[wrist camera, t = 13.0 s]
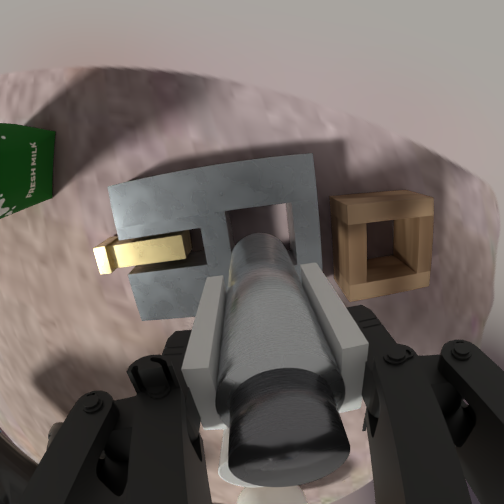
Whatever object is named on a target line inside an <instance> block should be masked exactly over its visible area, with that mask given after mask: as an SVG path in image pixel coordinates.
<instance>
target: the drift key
mask: <svg viewBox="0 0 504 504" xmlns="http://www.w3.org/2000/svg"><path fill="white" fill-rule="evenodd" d="M93 249H94V253H95V257H96V260H97V264H98V267H99V271H100V274H107V273H112V272H113V271H114V270H115V269H116V268H120V267H127V266H135V265H142V264H150V263H157V262H165V261H172V260H180V259H186V258H187V256H188V254H189V253H190V251H191V249H192V243H191V238H190V232H189V230H182V231H176V232H169V233H163V234H156V235H150V236H144V237H138V238H132V239H126V240H120V241H119V239H118V236H114V237H110V238H108V239H107V240H105V241H104V242H102V243H101V244H99V245H98V246H96V247H95V248H93Z"/></svg>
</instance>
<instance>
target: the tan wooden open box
mask: <svg viewBox="0 0 504 504" xmlns="http://www.w3.org/2000/svg"><path fill="white" fill-rule="evenodd" d="M329 199H330V212H331V226H332V244H333V267H334V279H335V281H336V282H337V284H338V285H339V287H340V288H341V290H342V291H343V293H344V294H345V296H346V297H347V299H348V301H349V302H352V301H358V300H363V299H369V298H374V297H379V296H384V295H389V294H394V293H399V292H404V291H409V290H414V289H418V288H423V287H427V286H429V280H430V271H431V259H432V244H433V216H434V198H433V197H430V196H426V195H423V194H419V193H416V192H412V191H408V190H395V191H382V192H370V193H358V194H348V195H337V196H329ZM387 220H393V221H394V239H393V255H391V256H384V257H378V258H371V259H367V232H366V223H370V222H379V221H387Z"/></svg>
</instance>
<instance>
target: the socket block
mask: <svg viewBox="0 0 504 504" xmlns="http://www.w3.org/2000/svg"><path fill="white" fill-rule="evenodd" d="M108 191H109V197H110V202H111V207H112V212H113V217H114V221H115V226H116V230H117V234H118V239H119V241H120V240H126V239H132V238H138V237H144V236H150V235H156V234H163V233H169V232H176V231H182V230H189V229H196V228H201V233H202V238H203V244H204V249H205V250H204V251H197V252H190V253H189V254H188V256H187V258H186V259H180V260H172V261H165V262H157V263H150V264H142V265H136V266H135V268H134V269H133V270H132V271H131V272H130V273H129V274H128V277H129V281H130V284H131V287H132V291H133V294H134V297H135V301H136V304H137V307H138V310H139V313H140V316H141V319H142V321H145V320H159V319H172V318H184V317H195V316H196V313H197V310H198V306H199V303H200V299H201V296H202V293H203V289H204V286H205V282H206V279H207V277H213V276H221V275H223V277H224V283H225V288H226V294H227V287H228V278H229V270H230V262H231V255H232V251H233V249H234V247H235V245H234V239H233V233H232V226H231V220H230V213H229V210H235V209H243V208H250V207H258V206H265V205H273V204H282V203H286V210H287V220H288V229H289V239H290V249H291V250H287V253H288V255H289V257H290V259H291V261H292V264H293V266H294V268H295V270H296V272H297V275H298V277H299V279H300V281H301V268H300V265H302V264H309V263H317V264H318V266H319V267H320V269H321V270H322V253H321V238H320V224H319V211H318V200H317V189H316V179H315V169H314V160H313V153H307V154H295V155H285V156H276V157H267V158H259V159H251V160H243V161H236V162H229V163H223V164H216V165H210V166H204V167H198V168H192V169H187V170H181V171H176V172H171V173H166V174H161V175H156V176H151V177H146V178H142V179H137V180H133V181H128V182H124V183H120V184H116V185H112V186H109V187H108ZM301 283H302V281H301Z"/></svg>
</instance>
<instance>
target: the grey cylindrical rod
mask: <svg viewBox="0 0 504 504" xmlns="http://www.w3.org/2000/svg"><path fill="white" fill-rule="evenodd" d="M344 399H345V384H344V381H343V378H342V376H341V373H340V371H339V369H338V366H337V364H336V361H335V359H334V357H333V354H332V352H331V350H330V347H329V345H328V343H327V340H326V338H325V336H324V333H323V331H322V329H321V326H320V324H319V322H318V319H317V317H316V315H315V313H314V310H313V308H312V306H311V304H310V301H309V299H308V297H307V295H306V292H305V290H304V288H303V286H302V283H301V281H300V279H299V277H298V275H297V272H296V270H295V268H294V266H293V264H292V261H291V259H290V257H289V255H288V253H287V250H286V248H285V246H284V245H283V243H282V242H281V241H280V240H279V239H277V238H276V237H274V236H272V235H270V234H266V233H254V234H250V235H248V236H246V237H244V238H242V239H241V240H240V241H239V242H238V243H237V244H236V246H235V247H234V249H233V251H232V255H231V262H230V270H229V278H228V287H227V295H226V304H225V313H224V322H223V331H222V340H221V349H220V359H219V368H218V378H217V388H216V398H215V407H216V411H217V414H218V416H219V418H220V419H221V420H222V422H223V423H224V424H225V425H226V426H227V427H228V428H229V448H228V467H229V470H230V471H231V473H232V474H233V475H234V476H236V477H237V478H238V479H240V480H242V481H244V482H247V483H250V484H253V485H257V486H263V487H290V486H296V485H301V484H305V483H309V482H312V481H315V480H318V479H320V478H322V477H325V476H326V475H328V474H330V473H332V472H333V471H335V470H336V469H337V468H339V467H340V466H341V465H342V464H343V463H344V462H345V460H346V459H347V457H348V456H349V453H350V444H349V441H348V438H347V435H346V432H345V429H344V426H343V423H342V420H341V417H340V414H339V410H340V408H341V406H342V404H343V402H344Z"/></svg>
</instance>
